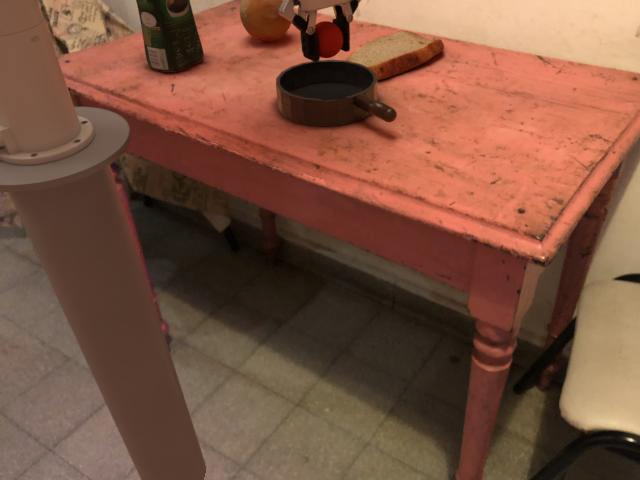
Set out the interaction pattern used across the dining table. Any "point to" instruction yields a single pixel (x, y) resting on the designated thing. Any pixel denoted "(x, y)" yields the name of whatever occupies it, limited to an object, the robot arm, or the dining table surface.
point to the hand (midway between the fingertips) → (326, 52)
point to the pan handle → (375, 108)
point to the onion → (263, 19)
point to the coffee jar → (169, 34)
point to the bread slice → (396, 53)
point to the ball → (329, 39)
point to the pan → (324, 92)
